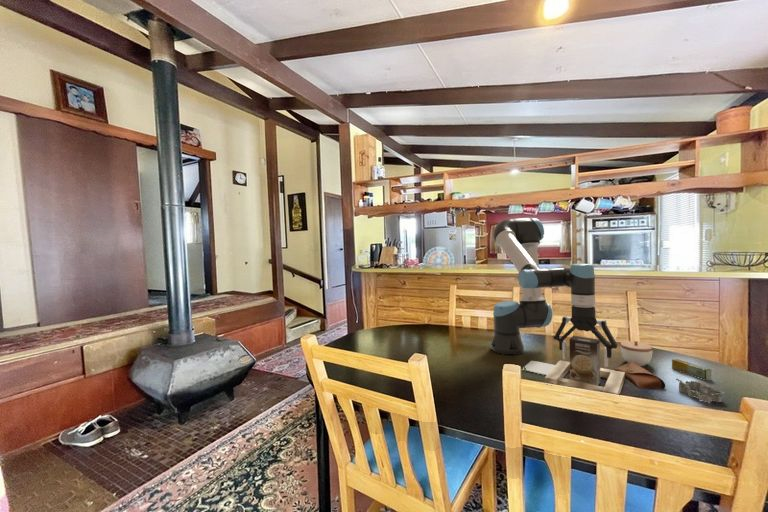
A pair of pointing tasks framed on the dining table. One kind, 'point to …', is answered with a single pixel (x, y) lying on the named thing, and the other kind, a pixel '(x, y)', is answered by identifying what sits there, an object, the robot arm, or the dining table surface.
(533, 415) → the dining table surface
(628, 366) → the sunglasses case
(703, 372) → the medication box
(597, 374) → the coffee box
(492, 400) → the dining table surface
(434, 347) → the dining table surface
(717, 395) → the grey flat lump
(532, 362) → the spiral notepad
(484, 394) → the dining table surface
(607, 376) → the board
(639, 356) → the lidded jar
